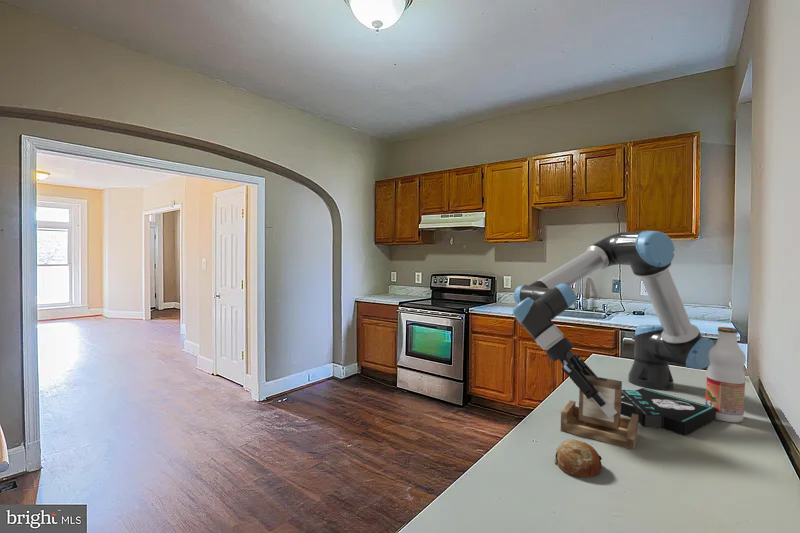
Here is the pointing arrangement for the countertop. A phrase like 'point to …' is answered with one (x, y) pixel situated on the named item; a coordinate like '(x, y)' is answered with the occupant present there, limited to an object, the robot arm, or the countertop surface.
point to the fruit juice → (726, 377)
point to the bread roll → (578, 458)
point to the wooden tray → (600, 428)
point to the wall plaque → (666, 411)
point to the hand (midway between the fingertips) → (614, 411)
